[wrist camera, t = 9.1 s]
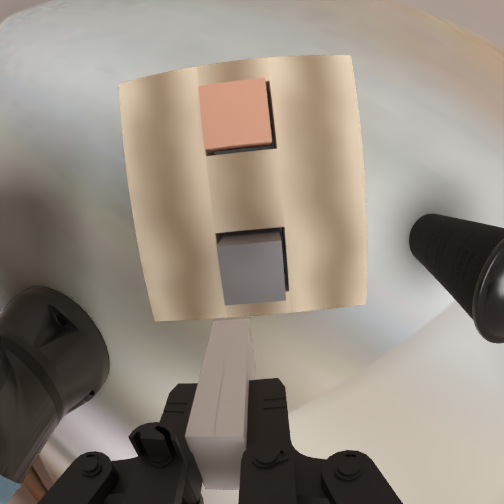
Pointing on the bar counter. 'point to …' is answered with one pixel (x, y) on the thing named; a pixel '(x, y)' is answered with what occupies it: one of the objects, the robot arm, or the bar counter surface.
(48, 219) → the bar counter surface
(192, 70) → the panel
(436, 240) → the drinking cup
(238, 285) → the gray block
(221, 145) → the salmon block
